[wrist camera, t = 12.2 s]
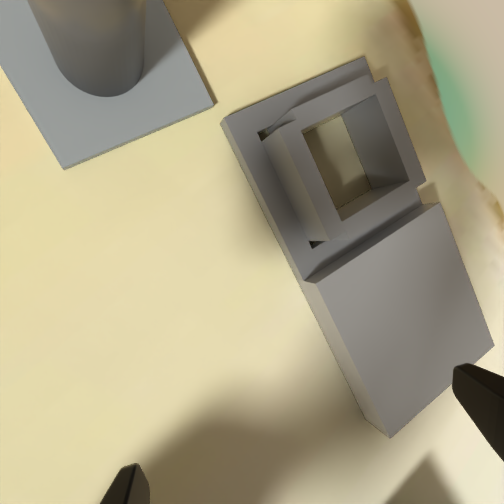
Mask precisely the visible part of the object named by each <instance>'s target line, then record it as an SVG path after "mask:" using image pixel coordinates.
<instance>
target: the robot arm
mask: <svg viewBox="0 0 504 504" xmlns="http://www.w3.org/2000/svg"><path fill="white" fill-rule="evenodd" d="M452 389H453V393H454V395H455V396H456V398H457V399H458V401H459V402H460V404H461V405H462V406H463V408H464V409H465V411H466V412H467V413H468V415H469V416H470V418H471V419H472V420H473V422H474V423H475V425H476V426H477V427H478V429H479V430H480V432H481V433H482V434H483V436H484V437H485V439H486V440H487V441H488V443H489V444H490V445H491V447H492V448H493V449H494V450H495V452H496V453H497V454H498V455H499V457H500V458H501V459H502V460H503V461H504V377H503V376H500V375H498V374H495V373H493V372H490V371H488V370H486V369H483V368H481V367H478V366H476V365H473V364H471V363H464V364H461V365H457V366H455V367H454V368H453V379H452ZM100 504H150V490H149V484H148V481H147V479H146V477H145V475H144V473H143V471H142V469H141V467H140V465H139V464H138V463H134V464H131V465H127V466H124V467H122V468H121V469H120V471H119V472H118V474H117V476H116V477H115V479H114V481H113V482H112V484H111V486H110V487H109V489H108V491H107V492H106V494H105V496H104V497H103V499H102V501H101V502H100Z"/></svg>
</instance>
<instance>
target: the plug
mask: <svg viewBox="0 0 504 504" xmlns="http://www.w3.org/2000/svg"><path fill="white" fill-rule="evenodd" d="M27 1H28V3H29V6H30V8H31V10H32V12H33V14H34V17H35V19H36V21H37V23H38V25H39V28H40V30H41V32H42V34H43V36H44V39H45V41H46V43H47V45H48V47H49V49H50V52H51V54H52V56H53V58H54V60H55V63H56V65H57V67H58V68H59V70H60V72H61V73H62V74H63V76H64V77H65V78H66V79H67V80H68V81H69V82H70V83H71V84H72V85H74V86H75V87H77V88H78V89H80V90H82V91H83V92H86V93H88V94H91V95H94V96H99V97H114V96H119V95H122V94H124V93H126V92H128V91H129V90H131V89H132V88H133V87H134V86H135V85H136V84H137V82H138V81H139V79H140V77H141V75H142V72H143V67H144V46H145V21H146V0H27Z"/></svg>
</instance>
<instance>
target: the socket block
mask: <svg viewBox="0 0 504 504" xmlns="http://www.w3.org/2000/svg"><path fill="white" fill-rule="evenodd" d="M340 115H341V116H342V118H343V121H344V123H345V125H346V128H347V130H348V133H349V135H350V137H351V140H352V142H353V145H354V147H355V149H356V152H357V154H358V156H359V159H360V161H361V164H362V166H363V168H364V171H365V173H366V176H367V178H368V180H369V183H370V185H371V187H372V189H371V190H369V191H368V192H366V193H364V194H363V195H361V196H359V197H357V198H356V199H354V200H352V201H351V202H349V203H347V204H346V205H344V206H342V207H341V208H339V209H337V210H336V208H335V206H334V204H333V201H332V199H331V197H330V195H329V192H328V190H327V188H326V186H325V183H324V181H323V179H322V177H321V174H320V172H319V170H318V168H317V165H316V163H315V161H314V159H313V157H312V154H311V152H310V150H309V148H308V145H307V143H306V141H305V139H304V136H303V134H304V133H306V132H308V131H310V130H312V129H314V128H316V127H318V126H320V125H322V124H324V123H326V122H328V121H330V120H332V119H334V118H336V117H338V116H340ZM220 125H221V127H222V129H223V131H224V133H225V135H226V137H227V139H228V141H229V143H230V145H231V147H232V149H233V151H234V153H235V155H236V157H237V159H238V161H239V164H240V166H241V168H242V170H243V172H244V174H245V176H246V178H247V180H248V182H249V184H250V186H251V188H252V190H253V192H254V194H255V196H256V198H257V200H258V202H259V204H260V206H261V208H262V210H263V212H264V214H265V216H266V218H267V220H268V222H269V224H270V226H271V228H272V230H273V232H274V235H275V237H276V239H277V241H278V243H279V245H280V247H281V249H282V251H283V253H284V255H285V257H286V259H287V261H288V263H289V265H290V267H291V269H292V271H293V273H294V275H295V277H296V279H297V281H298V283H299V285H300V287H301V289H302V291H303V293H304V295H305V297H306V299H307V301H308V303H309V306H310V308H311V310H312V312H313V314H314V316H315V318H316V320H317V322H318V324H319V326H320V328H321V330H322V332H323V334H324V336H325V338H326V340H327V342H328V344H329V346H330V348H331V350H332V352H333V354H334V356H335V358H336V360H337V362H338V364H339V366H340V368H341V370H342V372H343V375H344V377H345V379H346V381H347V383H348V385H349V387H350V389H351V391H352V393H353V395H354V397H355V399H356V401H357V403H358V405H359V407H360V409H361V411H362V413H363V415H364V417H365V419H366V420H367V421H368V422H370V423H371V424H372V425H373V426H375V427H376V428H377V429H379V430H380V431H381V432H382V433H384V434H385V435H386V436H388V437H389V438H391V437H393V436H394V435H395V434H396V433H397V432H398V431H399V430H400V429H402V428H403V427H404V426H405V425H406V424H407V423H408V422H409V421H411V420H412V419H413V418H414V417H415V416H416V415H417V414H418V413H420V412H421V411H422V410H423V409H424V408H425V407H426V406H427V405H429V404H430V403H431V402H432V401H433V400H434V399H435V398H436V397H437V396H439V395H440V394H441V393H442V392H443V391H444V390H445V389H446V388H448V387H449V386H450V385H451V384H452V379H453V368H454V367H455V366H457V365H461V364H464V363H471V364H475V363H476V362H477V361H478V360H479V359H480V358H481V357H482V356H484V355H485V354H486V353H487V352H488V351H489V350H490V349H491V348H492V347H494V346H495V345H494V343H493V340H492V337H491V335H490V332H489V329H488V327H487V324H486V322H485V319H484V316H483V314H482V311H481V308H480V306H479V303H478V300H477V298H476V295H475V293H474V290H473V287H472V285H471V282H470V279H469V277H468V274H467V272H466V269H465V266H464V264H463V261H462V258H461V256H460V253H459V250H458V248H457V245H456V243H455V240H454V237H453V235H452V232H451V229H450V227H449V224H448V222H447V219H446V216H445V214H444V211H443V208H442V206H441V203H440V202H438V203H430V204H422V202H421V200H420V197H419V195H418V192H417V189H416V187H418V186H419V185H421V184H423V183H424V182H426V178H425V176H424V173H423V171H422V168H421V165H420V163H419V160H418V158H417V155H416V152H415V150H414V147H413V145H412V142H411V139H410V137H409V134H408V132H407V129H406V126H405V124H404V121H403V118H402V116H401V113H400V111H399V108H398V105H397V103H396V100H395V98H394V95H393V92H392V90H391V87H390V85H389V82H388V79H387V77H386V78H383V79H381V80H379V81H377V82H374V80H373V77H372V74H371V72H370V69H369V67H368V64H367V62H366V59H365V57H362V58H359V59H357V60H355V61H353V62H350V63H348V64H346V65H343V66H341V67H339V68H337V69H334V70H332V71H330V72H327V73H325V74H323V75H321V76H318V77H316V78H314V79H311V80H309V81H307V82H305V83H302V84H300V85H298V86H295V87H293V88H291V89H289V90H286V91H284V92H282V93H279V94H277V95H275V96H273V97H270V98H268V99H266V100H263V101H261V102H259V103H256V104H254V105H252V106H250V107H247V108H245V109H243V110H240V111H238V112H236V113H234V114H231V115H229V116H227V117H224V118H223V120H222V121H221V123H220ZM266 130H267V131H268V133H269V136H268V137H266V138H265V139H264V140H263V141H261V140H260V138H259V135H258V134H259V133H261V132H263V131H266ZM309 241H317V242H315V243H314V244H312V245H310V243H309Z"/></svg>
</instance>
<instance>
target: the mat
mask: <svg viewBox="0 0 504 504" xmlns="http://www.w3.org/2000/svg"><path fill="white" fill-rule="evenodd" d="M0 66H1V67H2V69H3V71H4V72H5V74H6V76H7V77H8V79H9V81H10V82H11V84H12V85H13V87H14V89H15V90H16V92H17V94H18V95H19V97H20V99H21V100H22V102H23V104H24V105H25V107H26V109H27V110H28V112H29V114H30V115H31V117H32V119H33V120H34V122H35V124H36V125H37V127H38V129H39V130H40V132H41V134H42V135H43V137H44V139H45V140H46V142H47V144H48V145H49V147H50V149H51V150H52V152H53V154H54V155H55V157H56V159H57V160H58V162H59V164H60V165H61V167H62V168H63V169H64V170H66V169H68V168H71V167H73V166H75V165H78V164H80V163H83V162H85V161H87V160H90V159H92V158H94V157H97V156H99V155H102V154H104V153H106V152H109V151H111V150H113V149H116V148H118V147H120V146H123V145H125V144H128V143H130V142H132V141H135V140H137V139H139V138H142V137H144V136H146V135H149V134H151V133H154V132H156V131H158V130H161V129H163V128H165V127H168V126H170V125H172V124H175V123H177V122H180V121H182V120H184V119H187V118H189V117H191V116H194V115H196V114H199V113H201V112H203V111H206V110H208V109H210V108H212V107H213V105H214V104H213V102H212V100H211V98H210V96H209V94H208V92H207V90H206V87H205V85H204V83H203V81H202V79H201V77H200V75H199V73H198V71H197V69H196V67H195V65H194V63H193V61H192V59H191V57H190V55H189V53H188V51H187V49H186V47H185V45H184V43H183V41H182V39H181V37H180V35H179V32H178V30H177V28H176V26H175V24H174V22H173V20H172V18H171V16H170V14H169V12H168V10H167V8H166V6H165V4H164V2H163V0H146V21H145V46H144V67H143V72H142V75H141V77H140V79H139V81H138V82H137V84H136V85H135V86H134V87H133V88H132V89H131V90H129V91H128V92H126V93H124V94H122V95H119V96H114V97H99V96H94V95H91V94H88V93H86V92H83V91H82V90H80V89H78V88H77V87H75V86H74V85H72V84H71V83H70V82H69V81H68V80H67V79H66V78H65V77H64V76H63V74H62V73H61V72H60V70H59V68H58V67H57V65H56V63H55V60H54V58H53V56H52V54H51V52H50V49H49V47H48V45H47V43H46V41H45V39H44V36H43V34H42V32H41V30H40V28H39V25H38V23H37V21H36V19H35V17H34V14H33V12H32V10H31V8H30V6H29V3H28V1H27V0H0Z"/></svg>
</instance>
